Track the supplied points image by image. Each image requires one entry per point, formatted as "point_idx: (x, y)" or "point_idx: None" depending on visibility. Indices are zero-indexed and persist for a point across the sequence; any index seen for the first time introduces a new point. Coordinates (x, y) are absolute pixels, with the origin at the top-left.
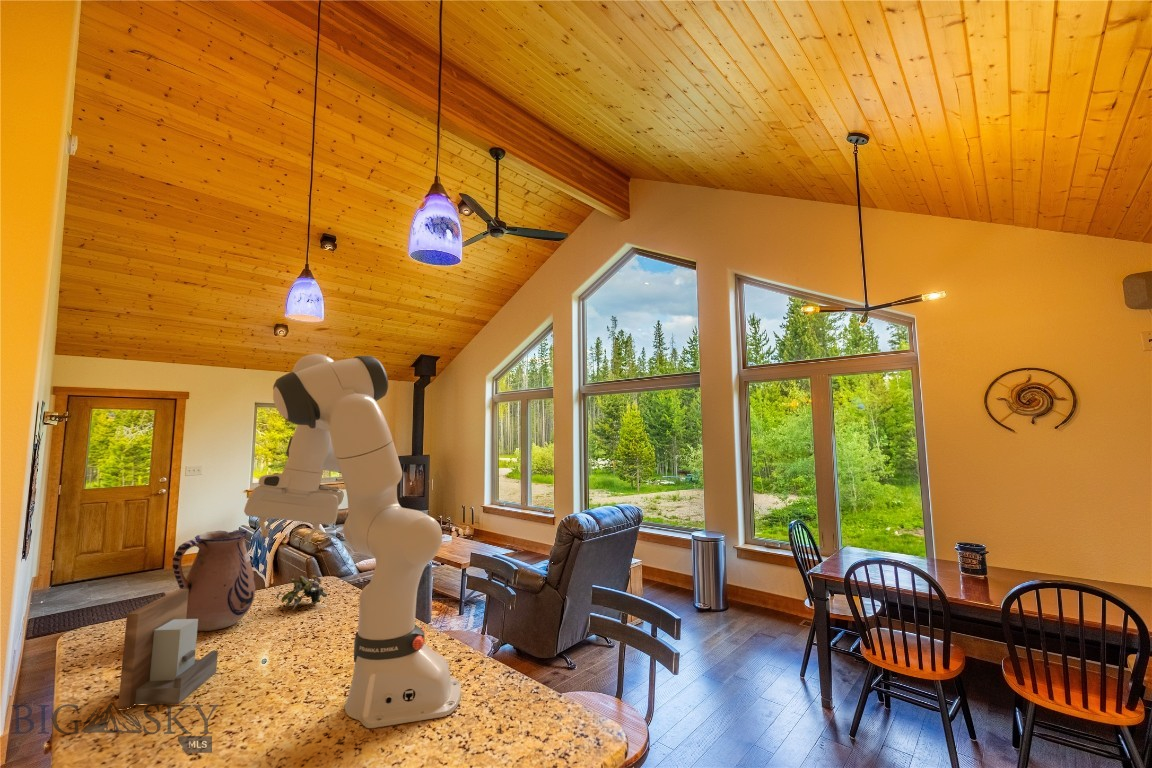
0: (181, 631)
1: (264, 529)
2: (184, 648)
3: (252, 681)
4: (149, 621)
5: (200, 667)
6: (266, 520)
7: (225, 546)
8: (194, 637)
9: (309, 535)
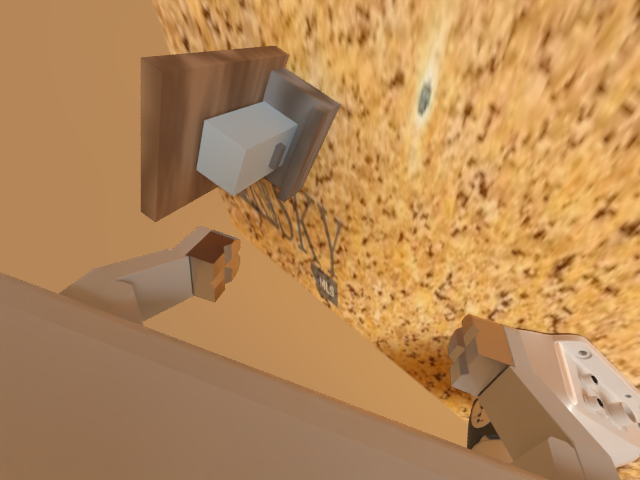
0: (237, 191)
1: (188, 298)
2: (262, 167)
3: (388, 184)
4: (177, 187)
5: (304, 160)
6: (132, 310)
7: None
8: (265, 146)
9: (480, 393)
